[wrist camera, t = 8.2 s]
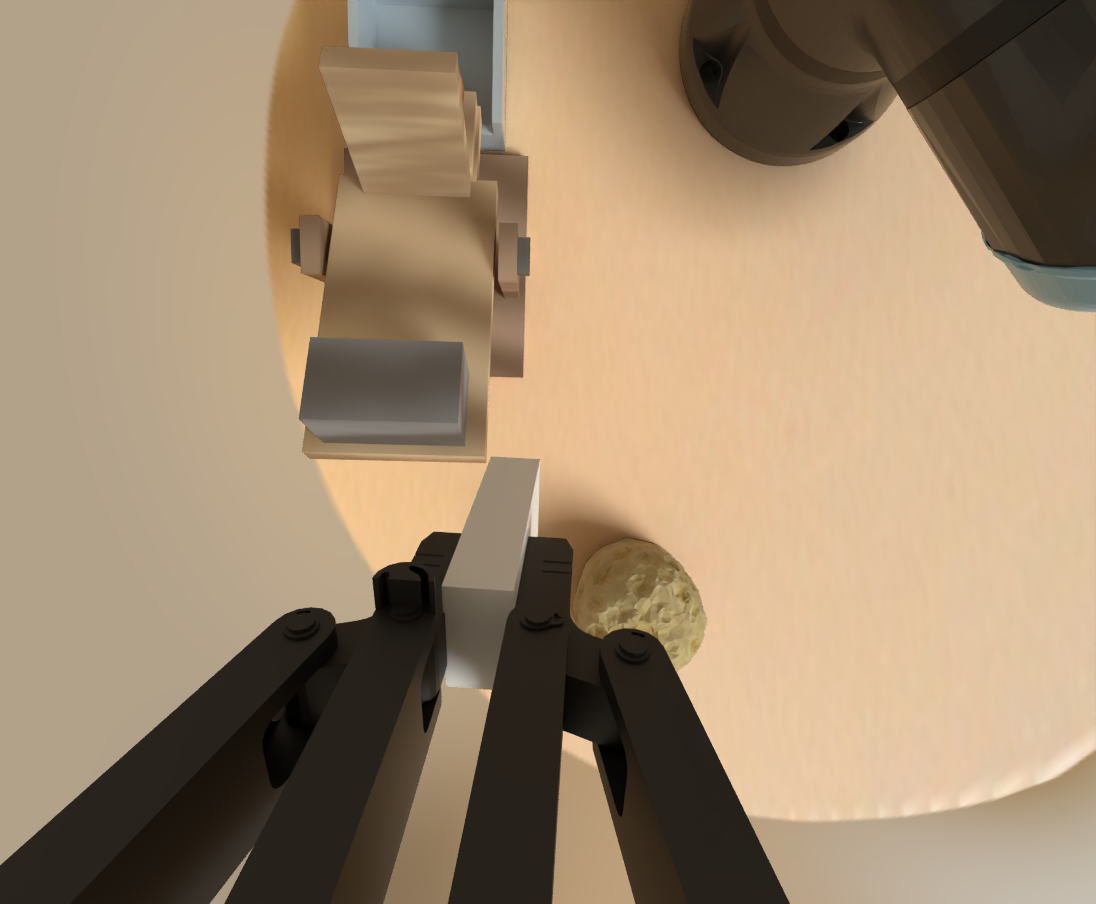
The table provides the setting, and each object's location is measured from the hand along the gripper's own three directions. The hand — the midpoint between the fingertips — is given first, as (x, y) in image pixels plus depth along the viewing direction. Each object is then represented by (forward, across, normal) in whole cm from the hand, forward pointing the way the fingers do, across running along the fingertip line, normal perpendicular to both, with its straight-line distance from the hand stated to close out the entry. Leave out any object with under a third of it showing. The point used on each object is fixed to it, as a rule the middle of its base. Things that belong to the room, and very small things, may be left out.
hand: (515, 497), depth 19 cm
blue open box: (+31, -9, +16) cm, 35 cm away
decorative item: (+23, +6, -20) cm, 31 cm away
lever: (+18, -8, +4) cm, 20 cm away
